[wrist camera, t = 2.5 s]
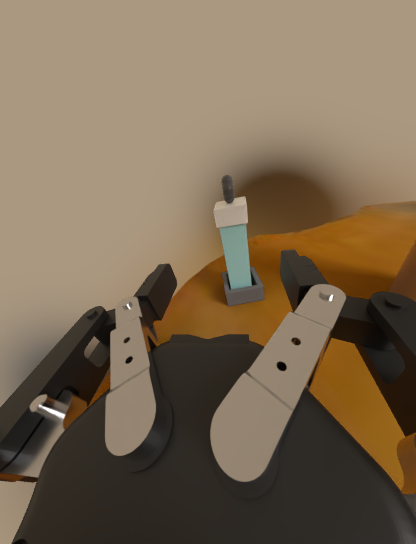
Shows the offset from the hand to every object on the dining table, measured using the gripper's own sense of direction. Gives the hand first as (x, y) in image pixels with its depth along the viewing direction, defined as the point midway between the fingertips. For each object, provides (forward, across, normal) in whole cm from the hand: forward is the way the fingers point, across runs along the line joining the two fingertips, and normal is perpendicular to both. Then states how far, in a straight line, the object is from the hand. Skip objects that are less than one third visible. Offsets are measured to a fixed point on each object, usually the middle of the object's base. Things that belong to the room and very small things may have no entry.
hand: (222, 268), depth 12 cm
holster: (+14, 0, +15) cm, 21 cm away
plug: (+14, 0, +15) cm, 21 cm away
